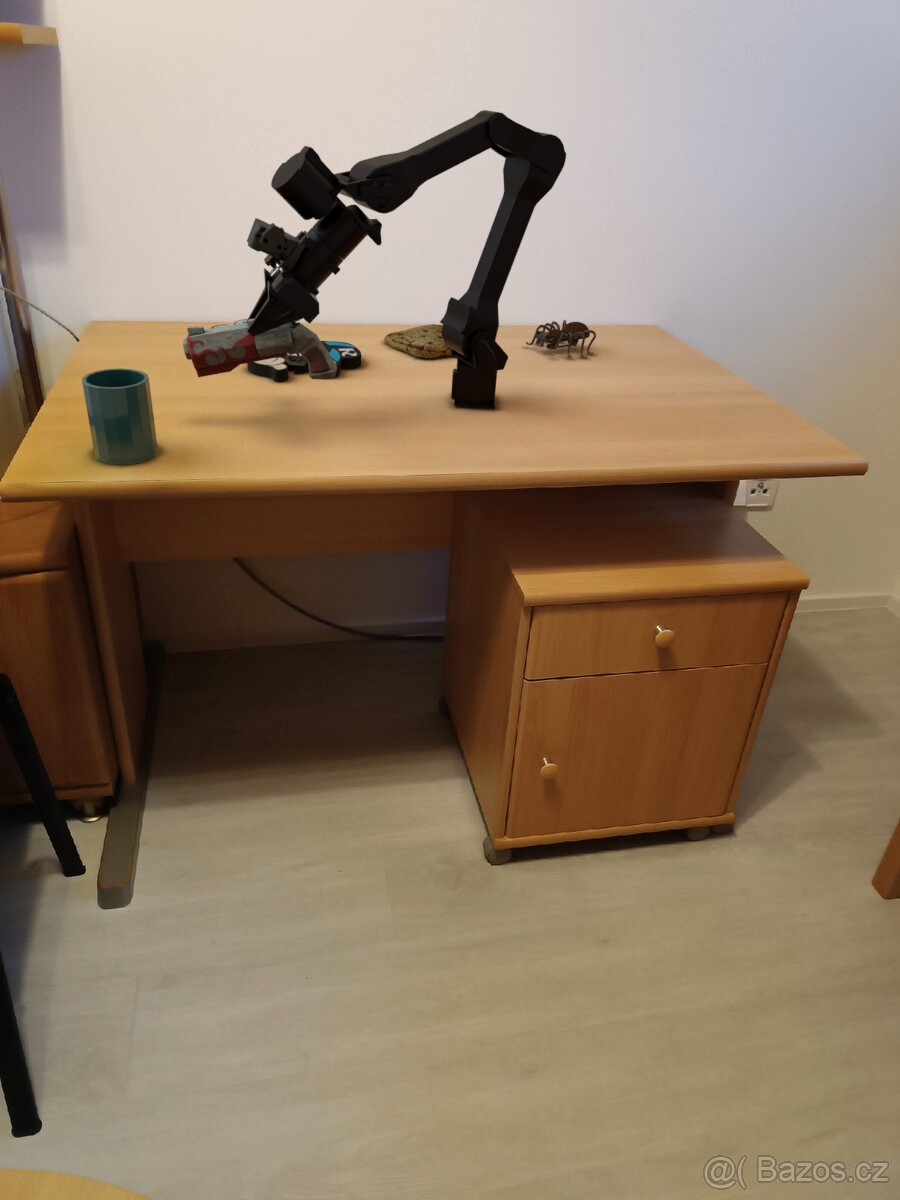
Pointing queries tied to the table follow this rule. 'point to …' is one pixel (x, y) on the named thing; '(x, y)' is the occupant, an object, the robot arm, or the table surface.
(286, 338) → the toy gun
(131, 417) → the pen holder
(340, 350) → the toy
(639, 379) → the table surface
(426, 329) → the pastry
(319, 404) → the table surface
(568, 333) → the toy
